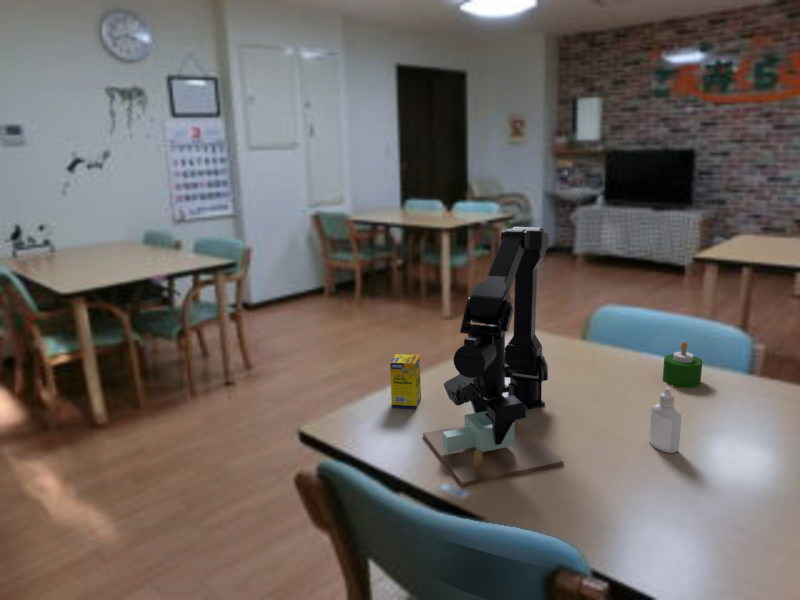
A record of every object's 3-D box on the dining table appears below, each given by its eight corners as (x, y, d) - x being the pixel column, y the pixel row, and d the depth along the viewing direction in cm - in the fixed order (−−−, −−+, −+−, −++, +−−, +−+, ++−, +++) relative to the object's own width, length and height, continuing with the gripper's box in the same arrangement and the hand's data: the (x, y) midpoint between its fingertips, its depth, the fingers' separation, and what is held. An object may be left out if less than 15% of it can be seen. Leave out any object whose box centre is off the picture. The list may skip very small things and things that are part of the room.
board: (512, 420, 130) (512, 402, 129) (563, 465, 112) (564, 445, 111) (423, 436, 125) (422, 418, 124) (461, 486, 106) (461, 465, 105)
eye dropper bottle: (656, 454, 114) (660, 394, 111) (647, 440, 120) (651, 382, 117) (680, 454, 114) (685, 394, 111) (670, 440, 119) (674, 382, 116)
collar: (497, 429, 122) (497, 409, 121) (514, 445, 116) (514, 423, 114) (438, 441, 119) (438, 419, 117) (452, 457, 112) (451, 435, 111)
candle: (702, 378, 149) (706, 339, 146) (697, 390, 142) (701, 349, 139) (665, 372, 153) (668, 334, 150) (659, 384, 146) (662, 344, 144)
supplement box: (417, 409, 138) (415, 363, 135) (391, 408, 139) (389, 362, 136) (421, 398, 143) (420, 354, 141) (396, 397, 145) (394, 353, 142)
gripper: (430, 349, 120) (433, 422, 124) (469, 383, 103) (470, 467, 107) (483, 342, 123) (483, 413, 127) (529, 373, 106) (528, 455, 110)
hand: (489, 435), depth 118 cm, fingers closed on collar, 7 cm apart
